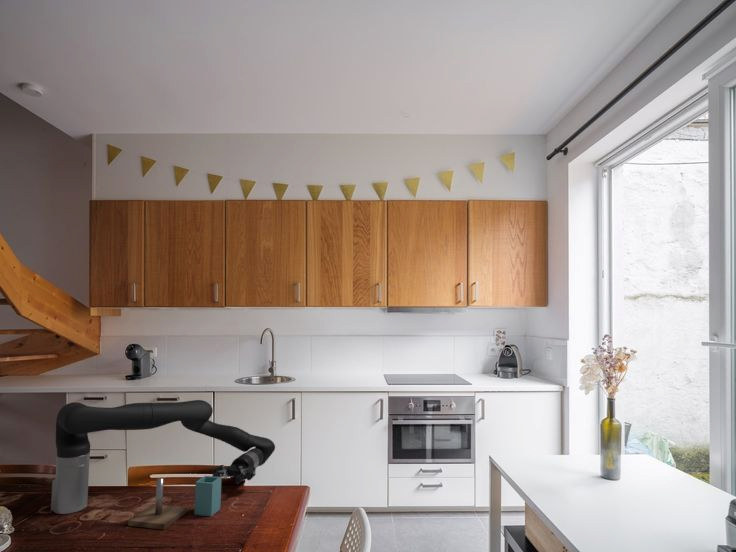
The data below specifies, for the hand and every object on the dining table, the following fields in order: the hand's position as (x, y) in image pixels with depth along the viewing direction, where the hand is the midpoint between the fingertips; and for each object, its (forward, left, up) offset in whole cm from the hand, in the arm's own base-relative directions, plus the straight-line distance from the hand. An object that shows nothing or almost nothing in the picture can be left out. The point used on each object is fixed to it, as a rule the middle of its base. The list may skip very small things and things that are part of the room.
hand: (224, 479), depth 164 cm
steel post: (-12, -19, -5) cm, 23 cm away
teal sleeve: (0, -11, -6) cm, 13 cm away
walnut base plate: (-12, -19, -6) cm, 23 cm away
